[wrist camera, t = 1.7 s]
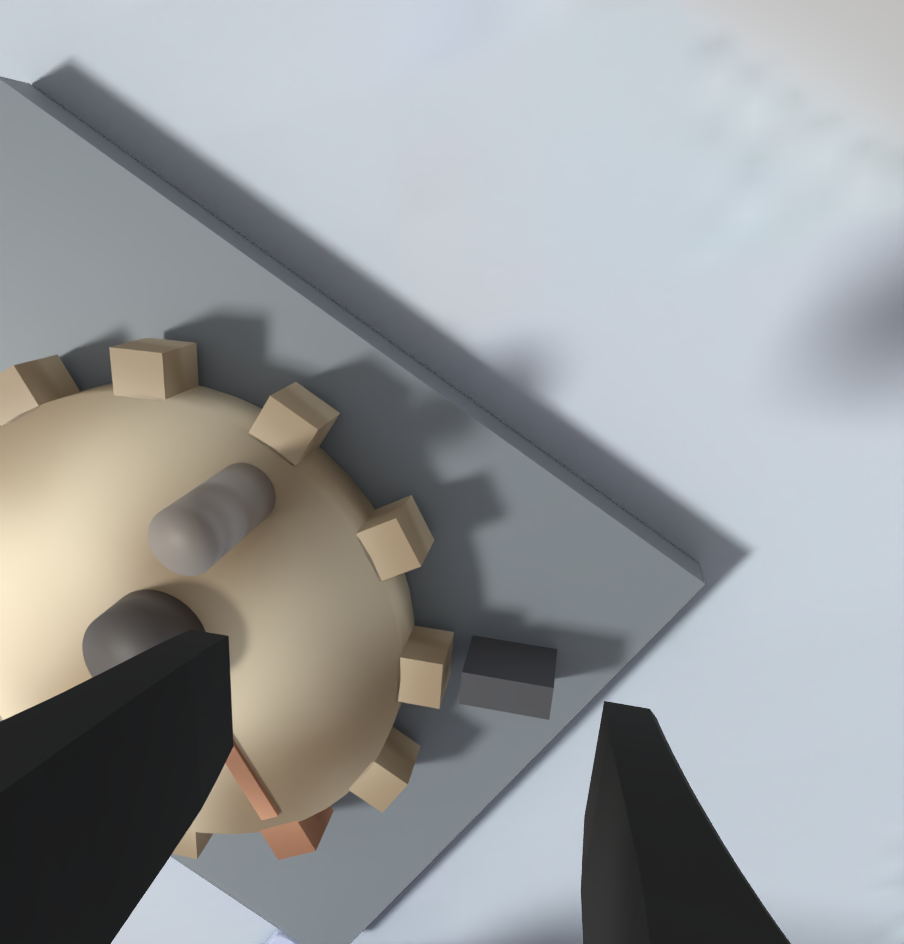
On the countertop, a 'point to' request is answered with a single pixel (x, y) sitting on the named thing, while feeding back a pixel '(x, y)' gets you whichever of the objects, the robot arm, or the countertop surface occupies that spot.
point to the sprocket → (215, 577)
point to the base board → (371, 468)
